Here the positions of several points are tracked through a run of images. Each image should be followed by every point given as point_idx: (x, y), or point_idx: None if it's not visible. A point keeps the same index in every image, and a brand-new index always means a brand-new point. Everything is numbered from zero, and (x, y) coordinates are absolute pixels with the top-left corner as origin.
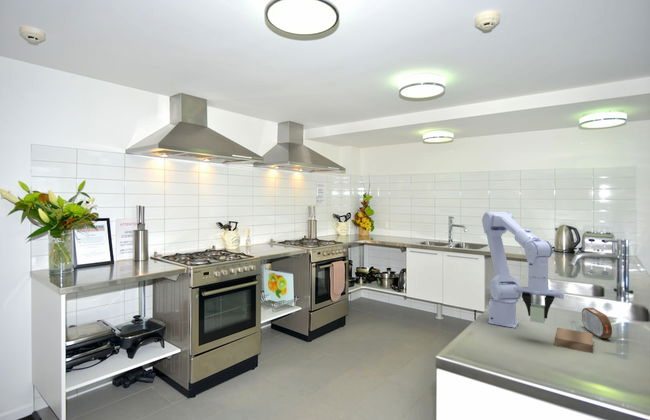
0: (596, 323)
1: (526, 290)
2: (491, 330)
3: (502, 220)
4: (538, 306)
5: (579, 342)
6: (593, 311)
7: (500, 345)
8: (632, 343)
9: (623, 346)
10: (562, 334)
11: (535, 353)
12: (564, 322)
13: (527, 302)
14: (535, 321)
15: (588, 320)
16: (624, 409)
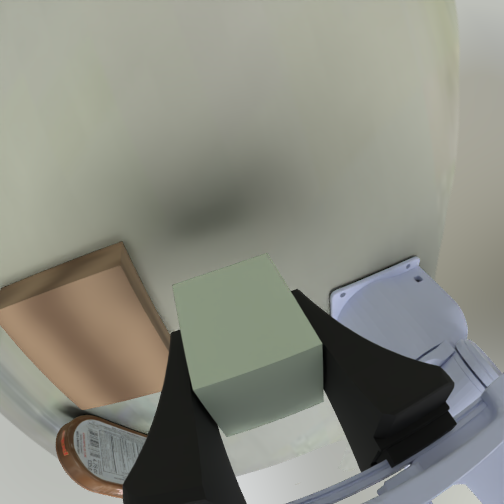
0: (107, 456)
1: (452, 468)
2: (400, 189)
3: None
4: (259, 395)
5: (26, 299)
6: None
7: (320, 11)
8: (35, 426)
9: (23, 401)
10: (127, 335)
11: (137, 35)
12: None
13: (366, 362)
14: (231, 267)
15: None
16: None
